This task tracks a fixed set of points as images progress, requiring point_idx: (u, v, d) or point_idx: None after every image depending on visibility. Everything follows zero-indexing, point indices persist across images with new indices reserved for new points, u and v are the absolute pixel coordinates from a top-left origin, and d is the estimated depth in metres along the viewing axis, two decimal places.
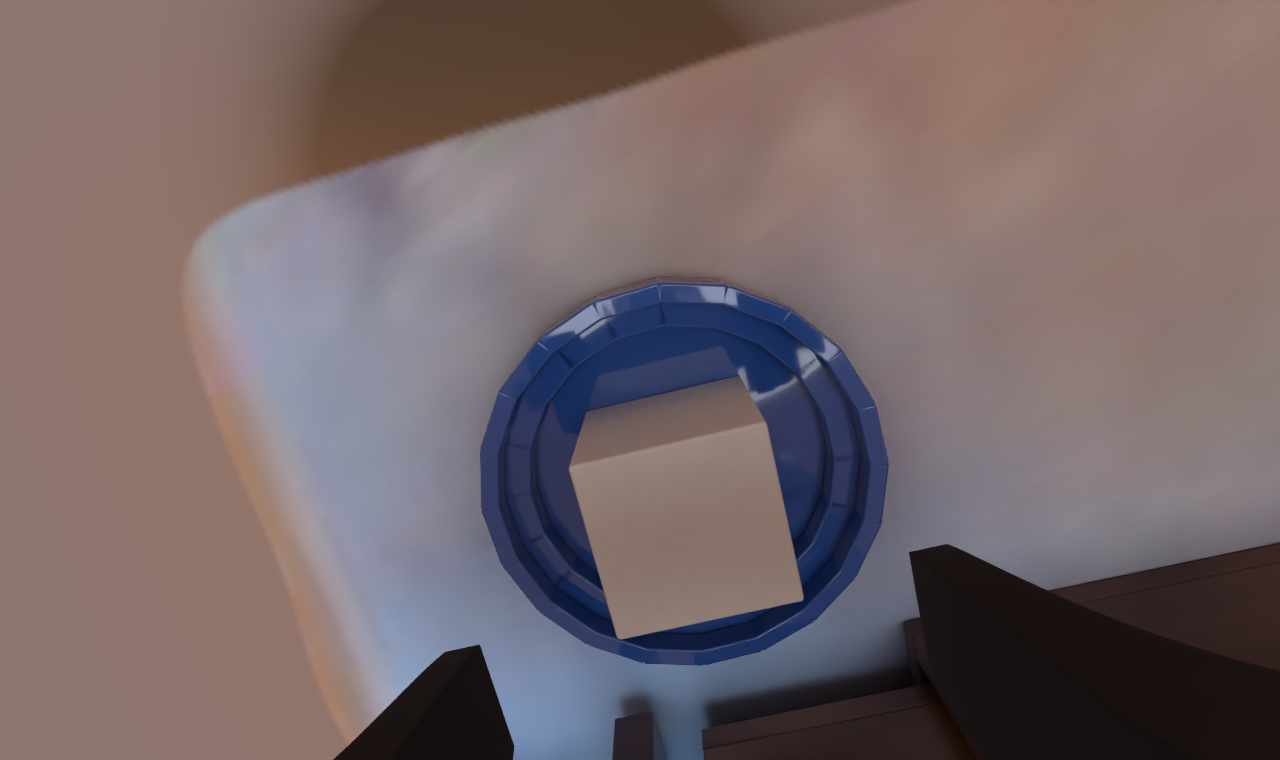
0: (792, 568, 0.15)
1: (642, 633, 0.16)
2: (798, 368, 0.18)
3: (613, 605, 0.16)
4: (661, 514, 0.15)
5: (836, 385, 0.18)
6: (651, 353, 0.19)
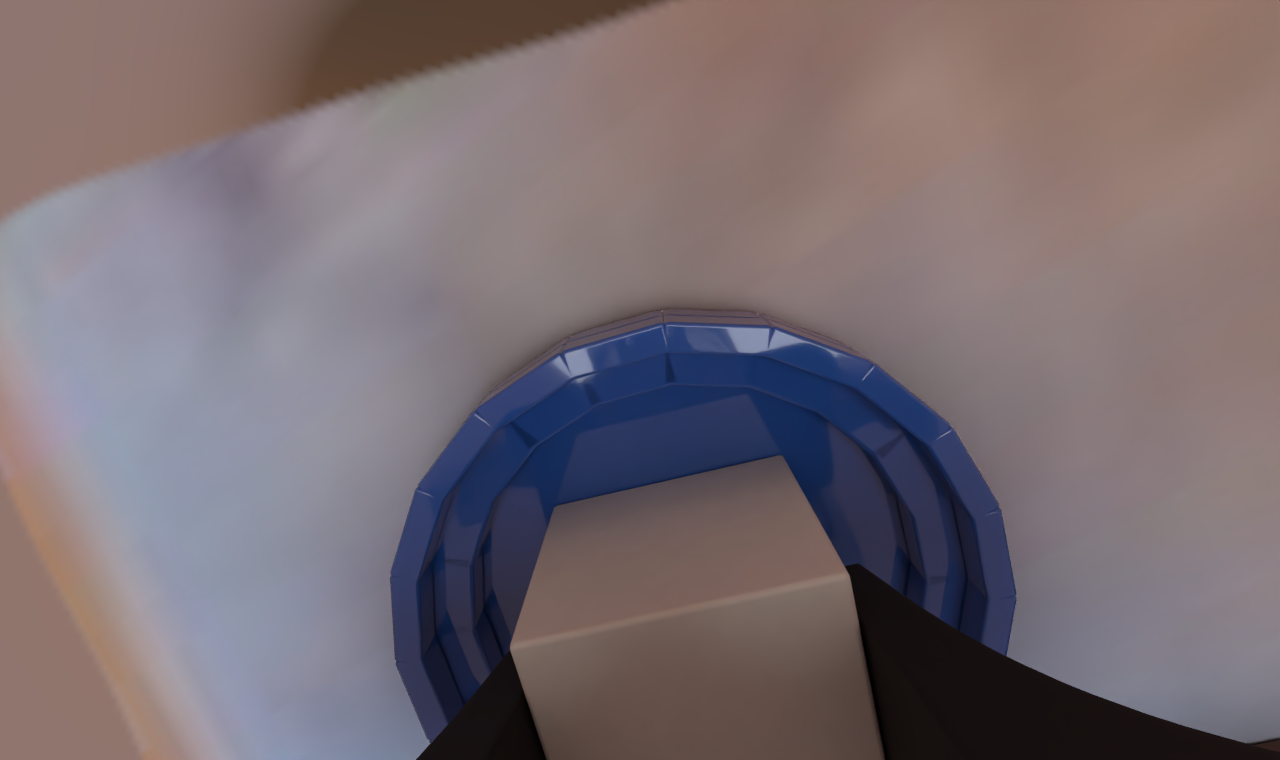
0: None
1: None
2: (876, 448, 0.12)
3: None
4: (668, 720, 0.09)
5: (934, 473, 0.12)
6: (652, 421, 0.13)
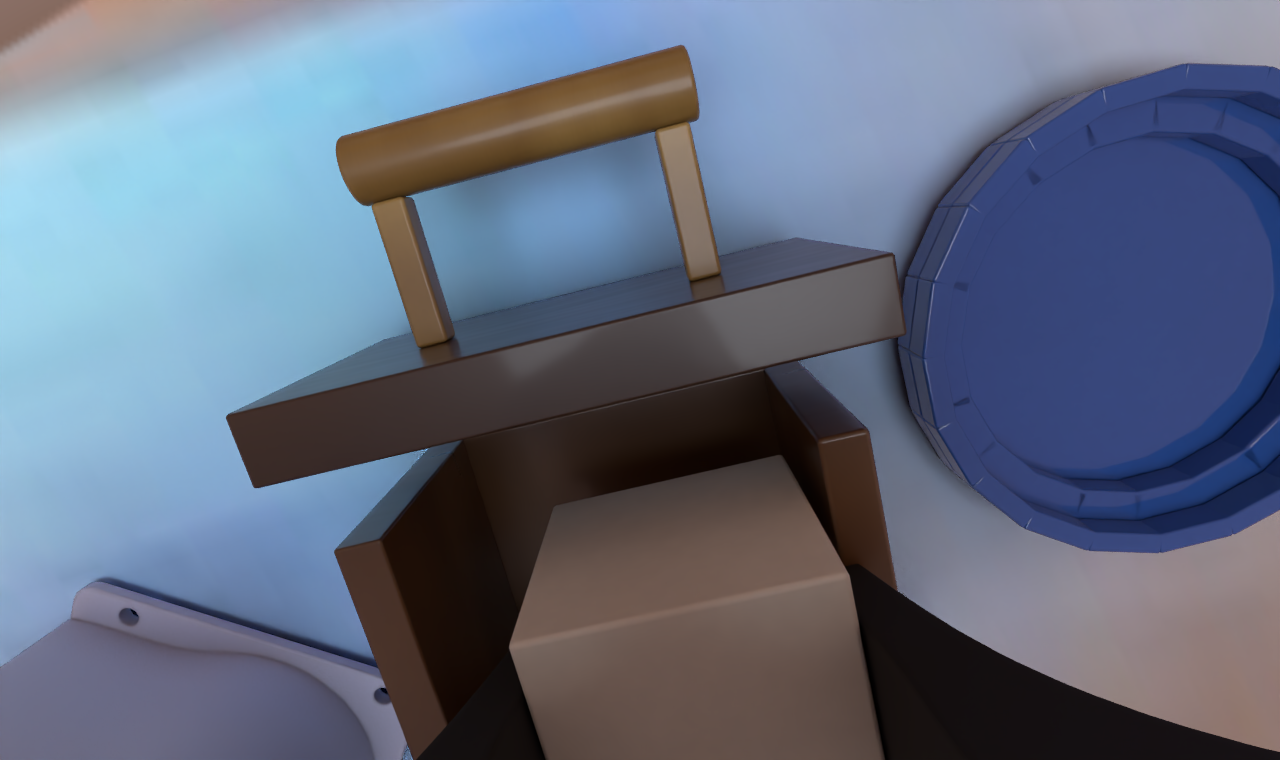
0: None
1: None
2: (1253, 449, 0.16)
3: None
4: (666, 721, 0.09)
5: (1226, 490, 0.17)
6: (1268, 283, 0.16)
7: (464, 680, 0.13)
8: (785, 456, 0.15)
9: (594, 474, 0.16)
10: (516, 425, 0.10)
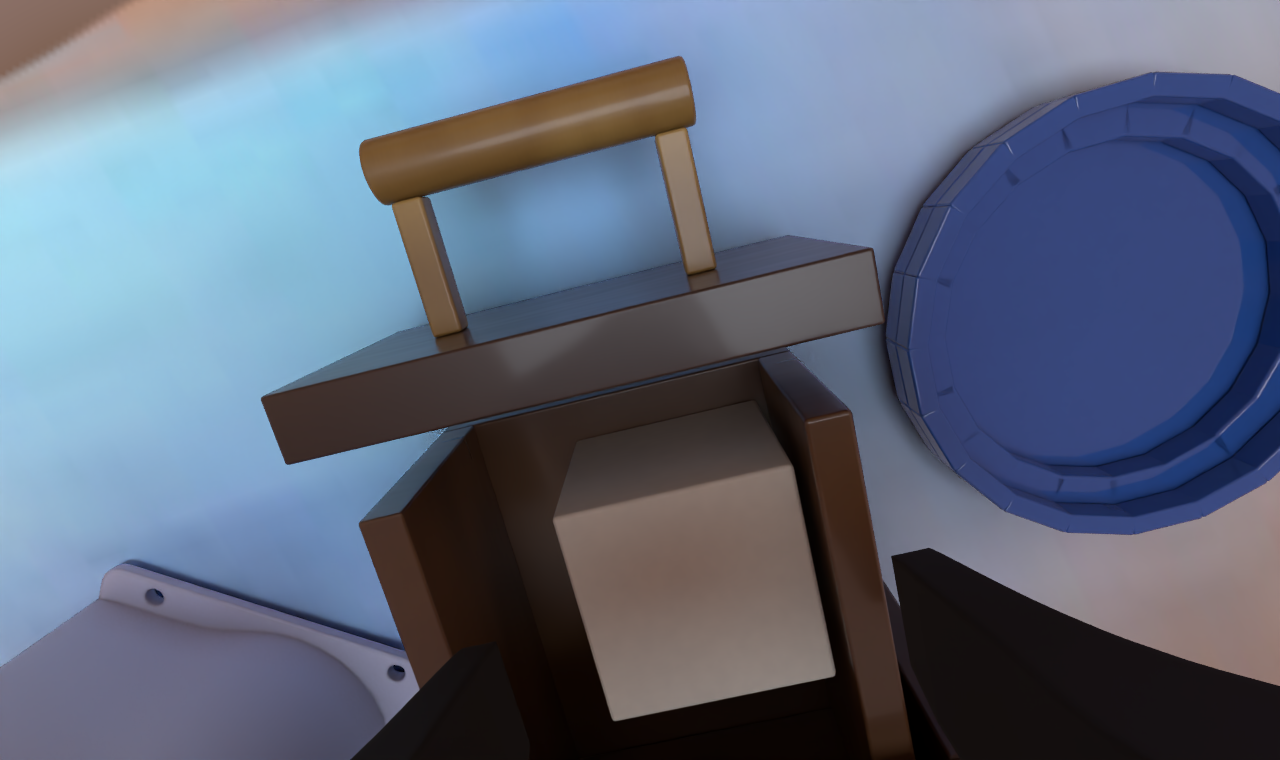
0: (822, 638, 0.13)
1: (642, 714, 0.13)
2: (1222, 437, 0.17)
3: (607, 681, 0.13)
4: (665, 574, 0.13)
5: (1197, 475, 0.17)
6: (1236, 279, 0.17)
7: None
8: None
9: None
10: (527, 406, 0.11)
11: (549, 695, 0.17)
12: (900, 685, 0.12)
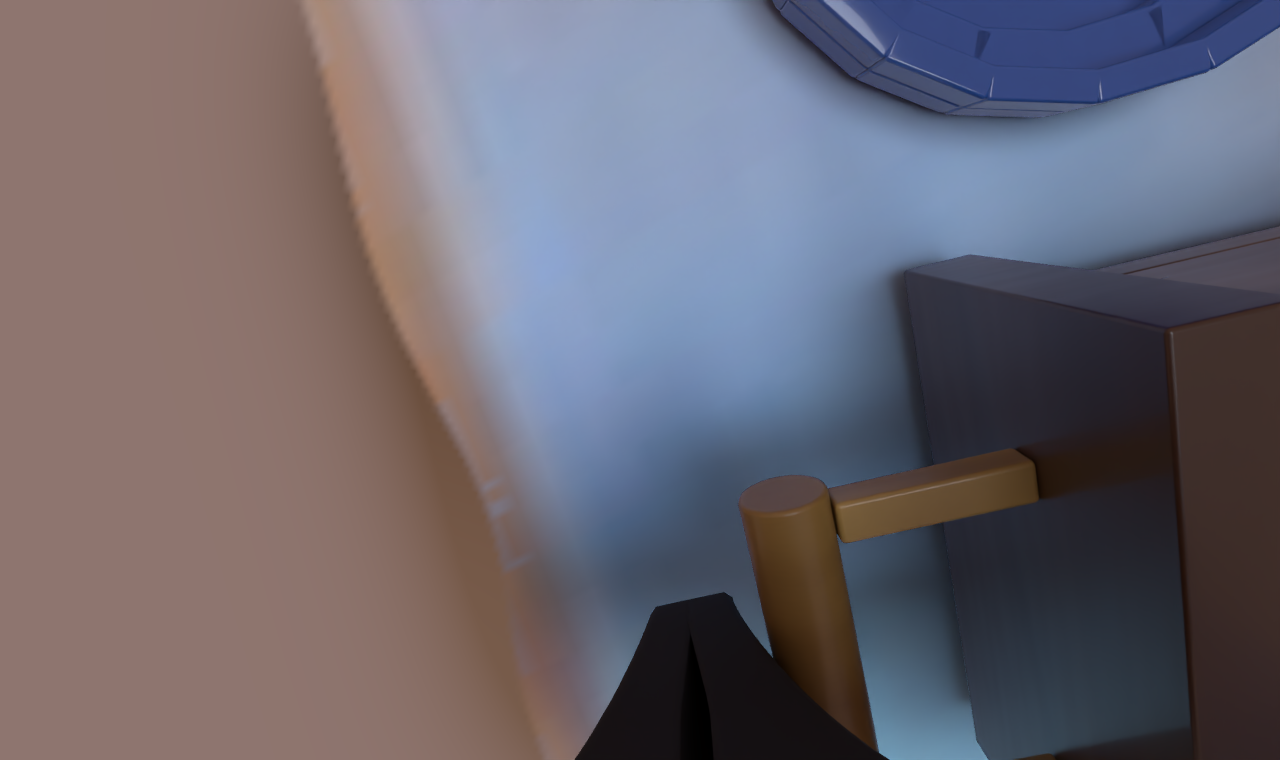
0: None
1: None
2: None
3: None
4: None
5: None
6: None
7: None
8: None
9: None
10: None
11: None
12: None
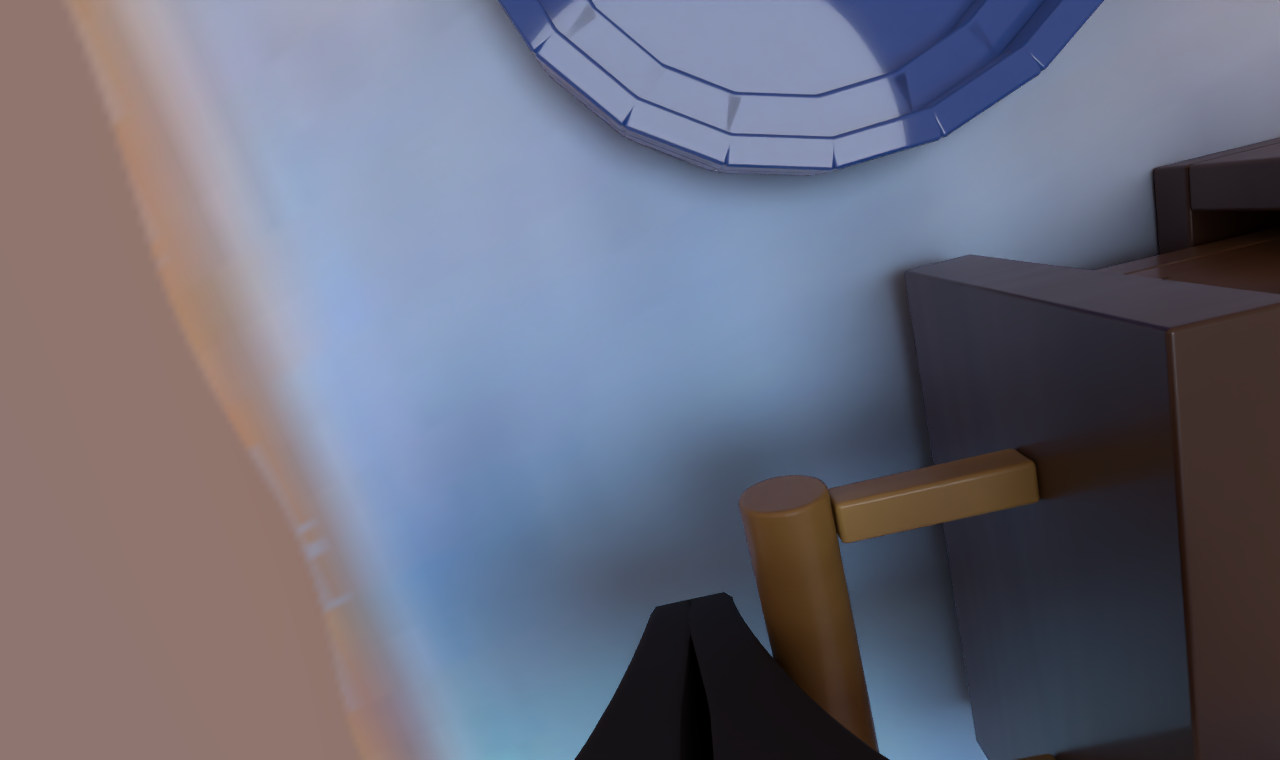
0: None
1: None
2: None
3: None
4: None
5: None
6: None
7: None
8: None
9: None
10: None
11: None
12: None
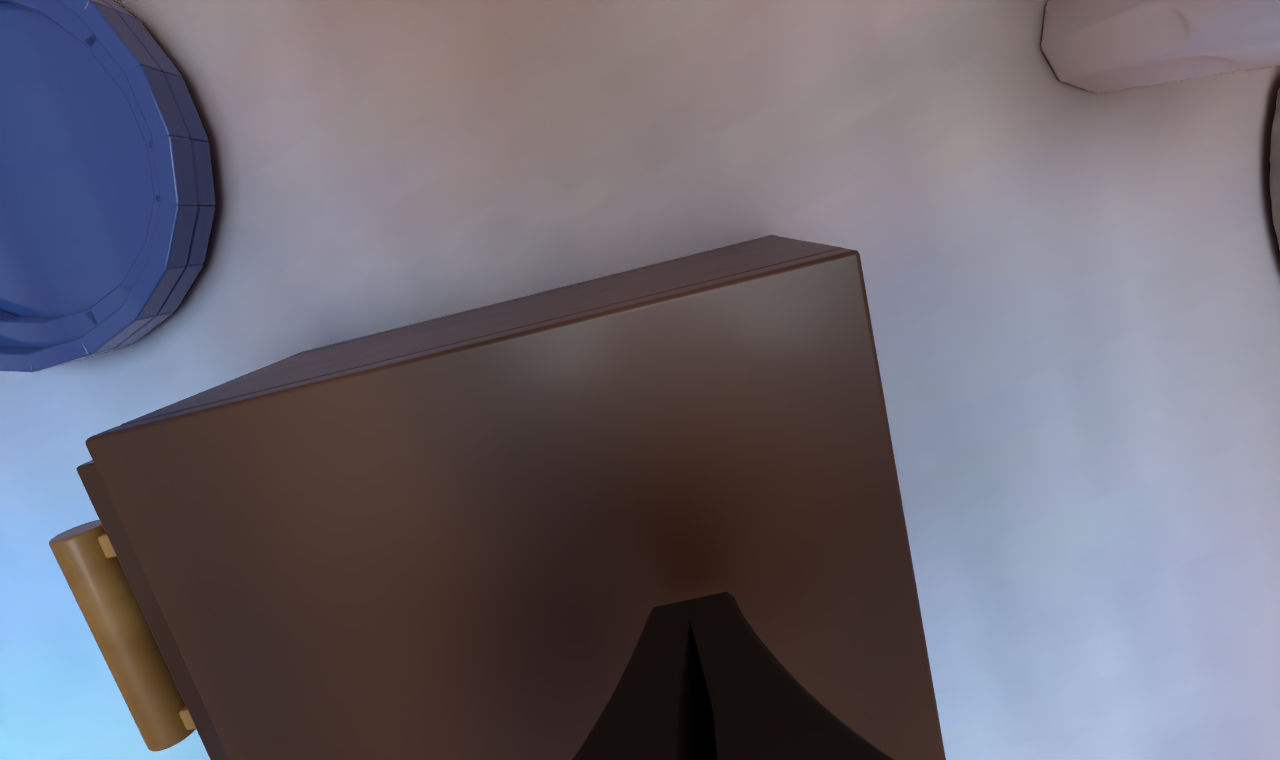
0: None
1: None
2: (85, 39, 0.17)
3: None
4: None
5: None
6: None
7: None
8: None
9: None
10: None
11: None
12: None
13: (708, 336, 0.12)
